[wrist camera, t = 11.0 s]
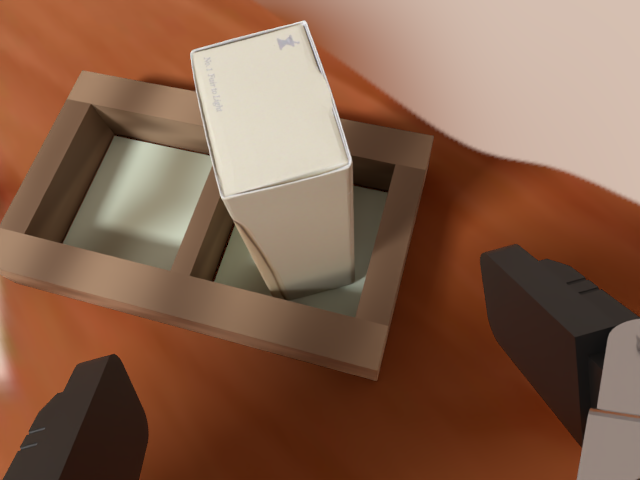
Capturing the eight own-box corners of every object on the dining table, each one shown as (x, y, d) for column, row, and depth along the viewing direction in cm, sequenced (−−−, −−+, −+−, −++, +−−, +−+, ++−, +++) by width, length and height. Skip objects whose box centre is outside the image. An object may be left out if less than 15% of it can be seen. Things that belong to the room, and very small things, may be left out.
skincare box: (252, 202, 30) (182, 45, 19) (330, 181, 30) (306, 12, 19) (277, 309, 28) (213, 201, 17) (362, 286, 28) (355, 163, 17)
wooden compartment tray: (15, 282, 30) (-21, 263, 27) (105, 102, 34) (82, 70, 31) (376, 381, 26) (377, 370, 23) (428, 166, 30) (434, 135, 28)
